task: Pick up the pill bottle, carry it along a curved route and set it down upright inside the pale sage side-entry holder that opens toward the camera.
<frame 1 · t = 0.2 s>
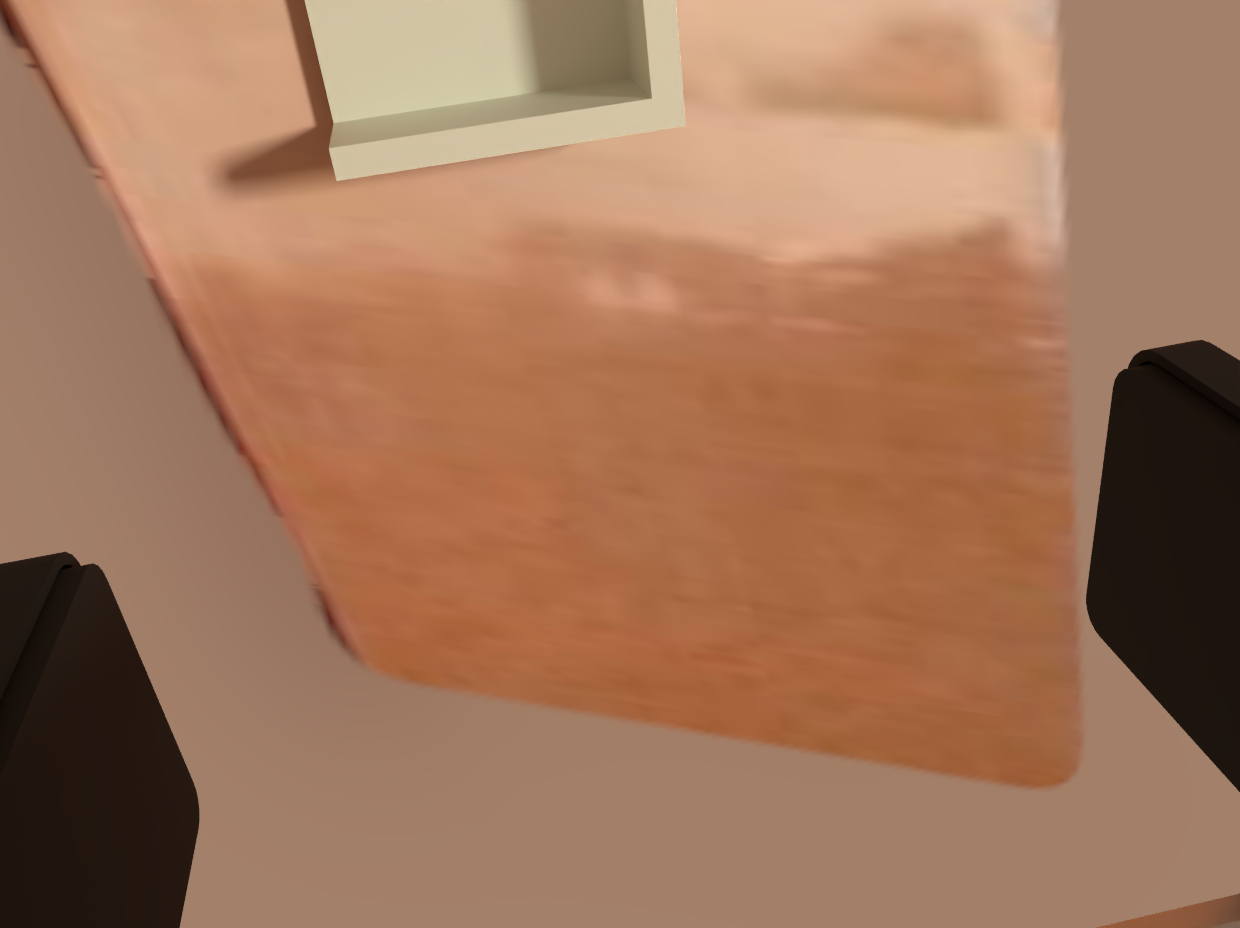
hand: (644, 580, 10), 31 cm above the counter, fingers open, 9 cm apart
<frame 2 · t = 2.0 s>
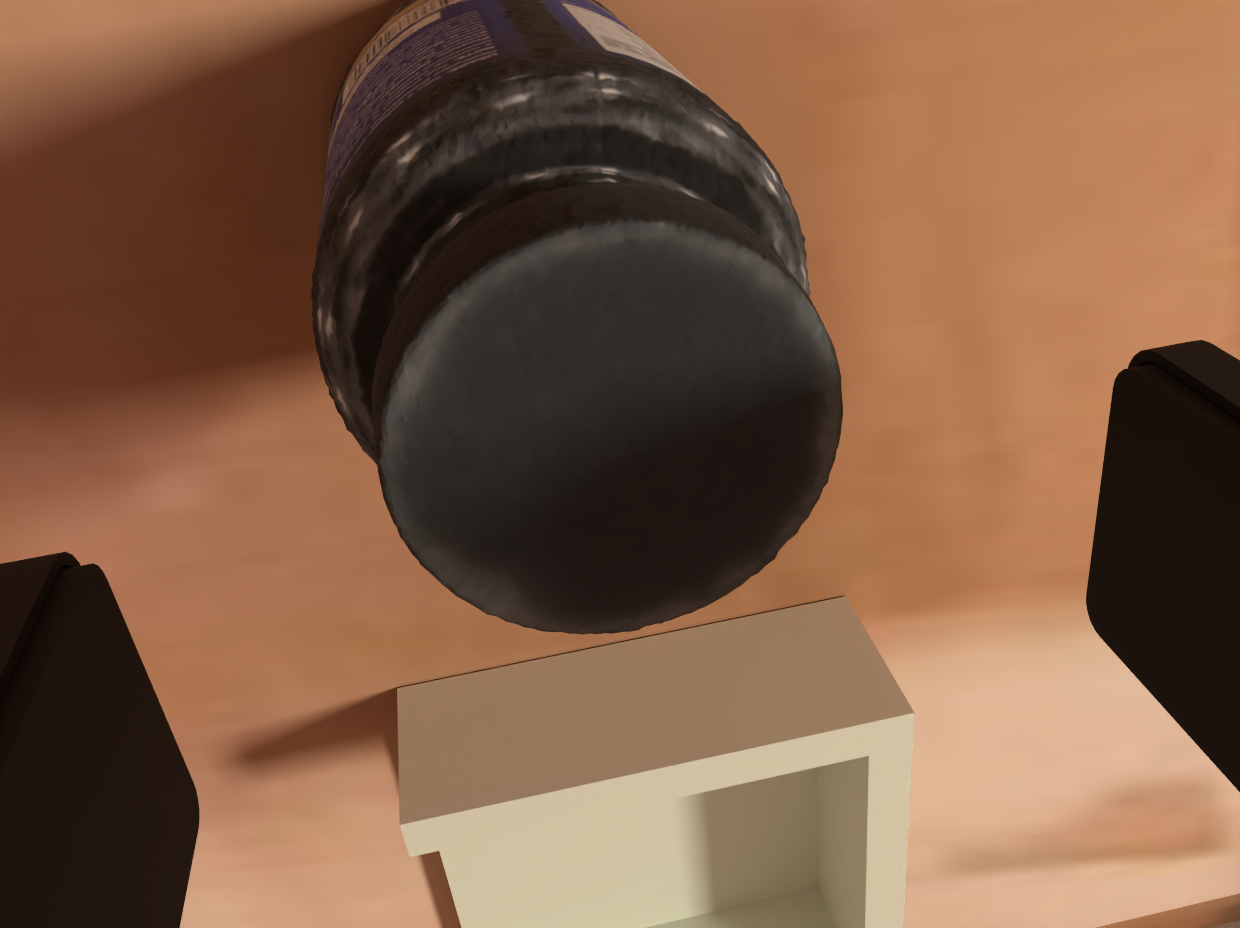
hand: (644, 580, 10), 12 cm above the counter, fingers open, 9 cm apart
holder: (647, 798, 29), on the counter
pill bottle: (504, 147, 20), on the counter
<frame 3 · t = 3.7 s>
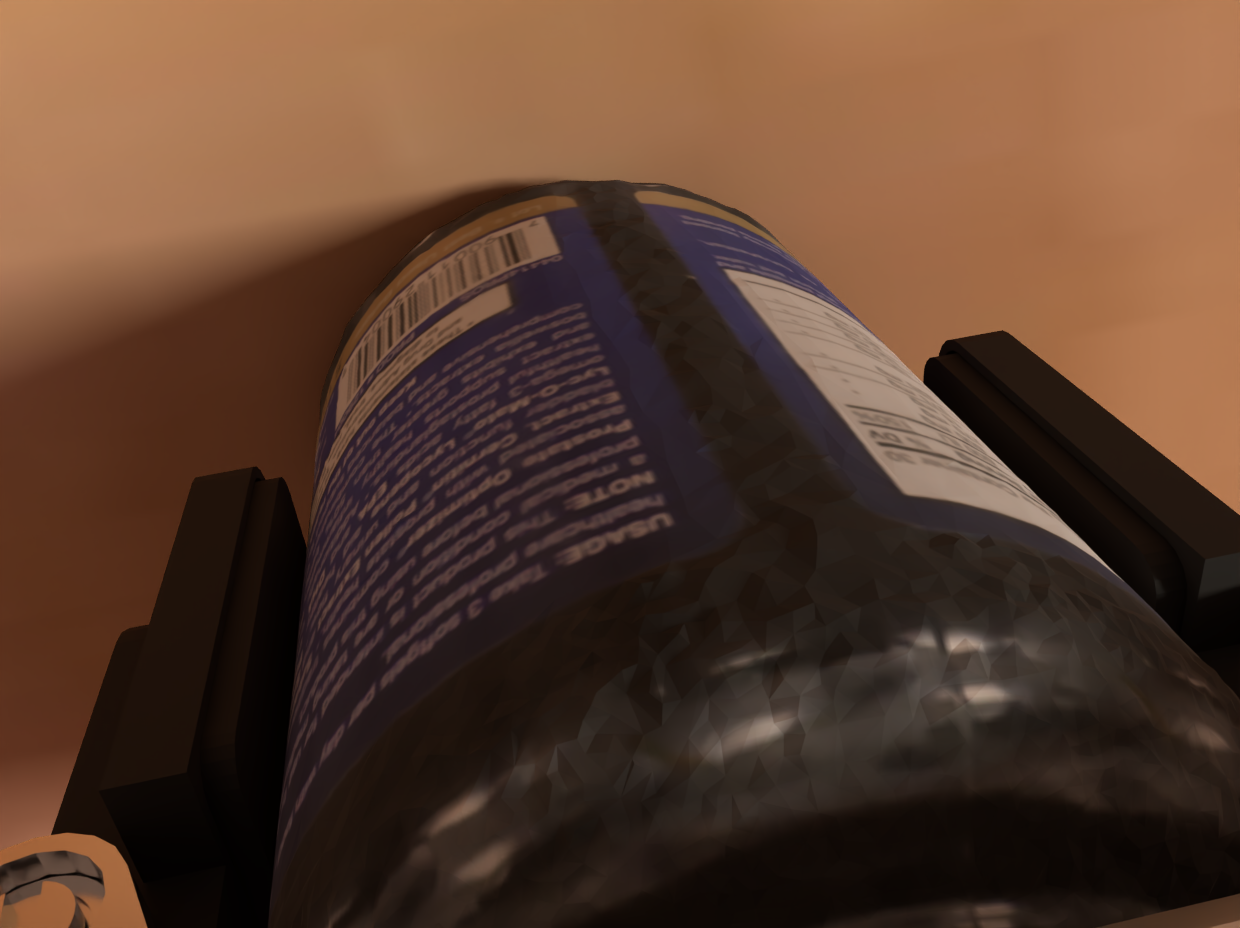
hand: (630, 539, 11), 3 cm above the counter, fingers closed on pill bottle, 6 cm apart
pill bottle: (587, 412, 13), on the counter, touching gripper
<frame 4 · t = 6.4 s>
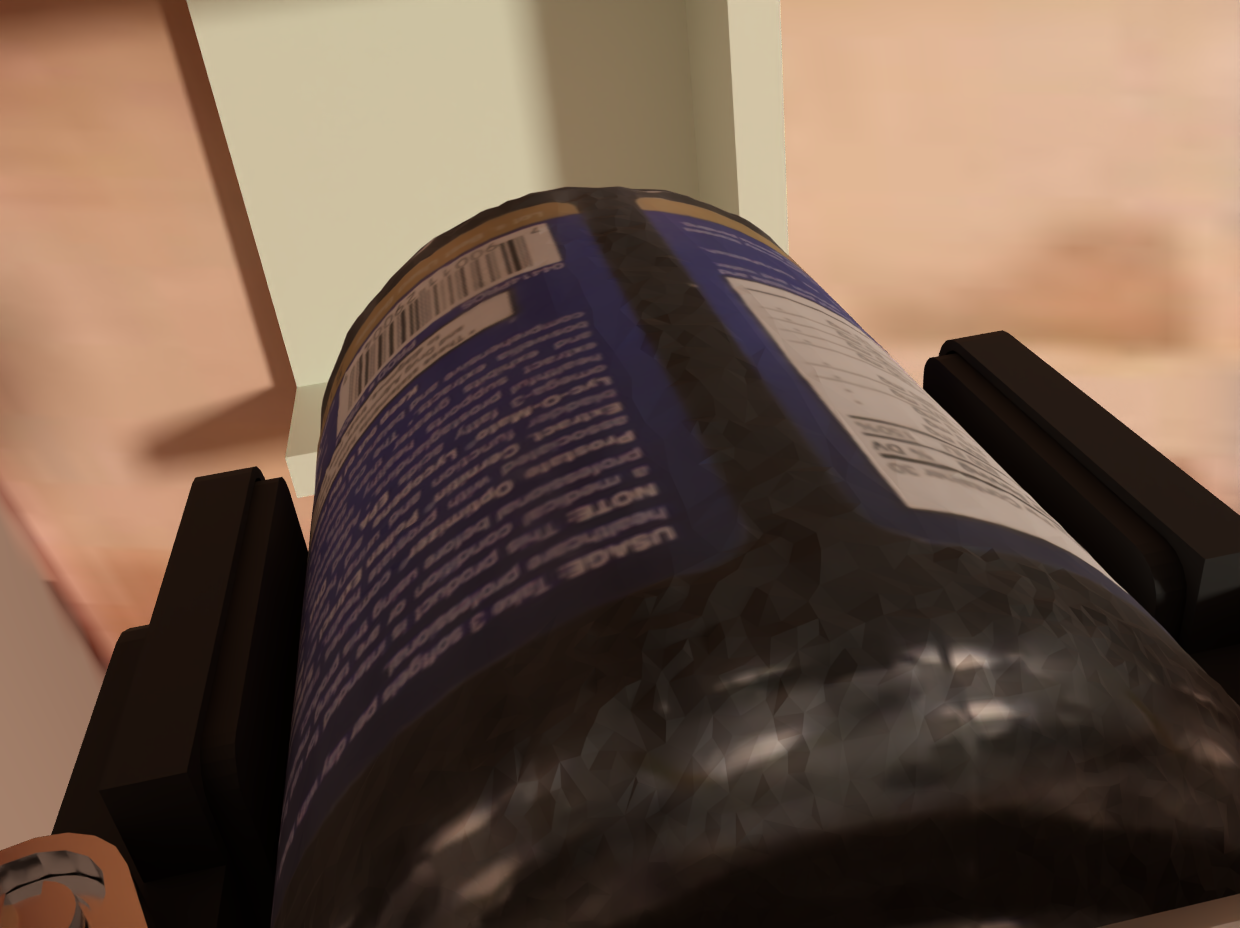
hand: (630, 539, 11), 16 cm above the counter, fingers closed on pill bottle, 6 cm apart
holder: (494, 154, 25), on the counter
pill bottle: (588, 417, 13), point 14 cm above the counter, touching gripper
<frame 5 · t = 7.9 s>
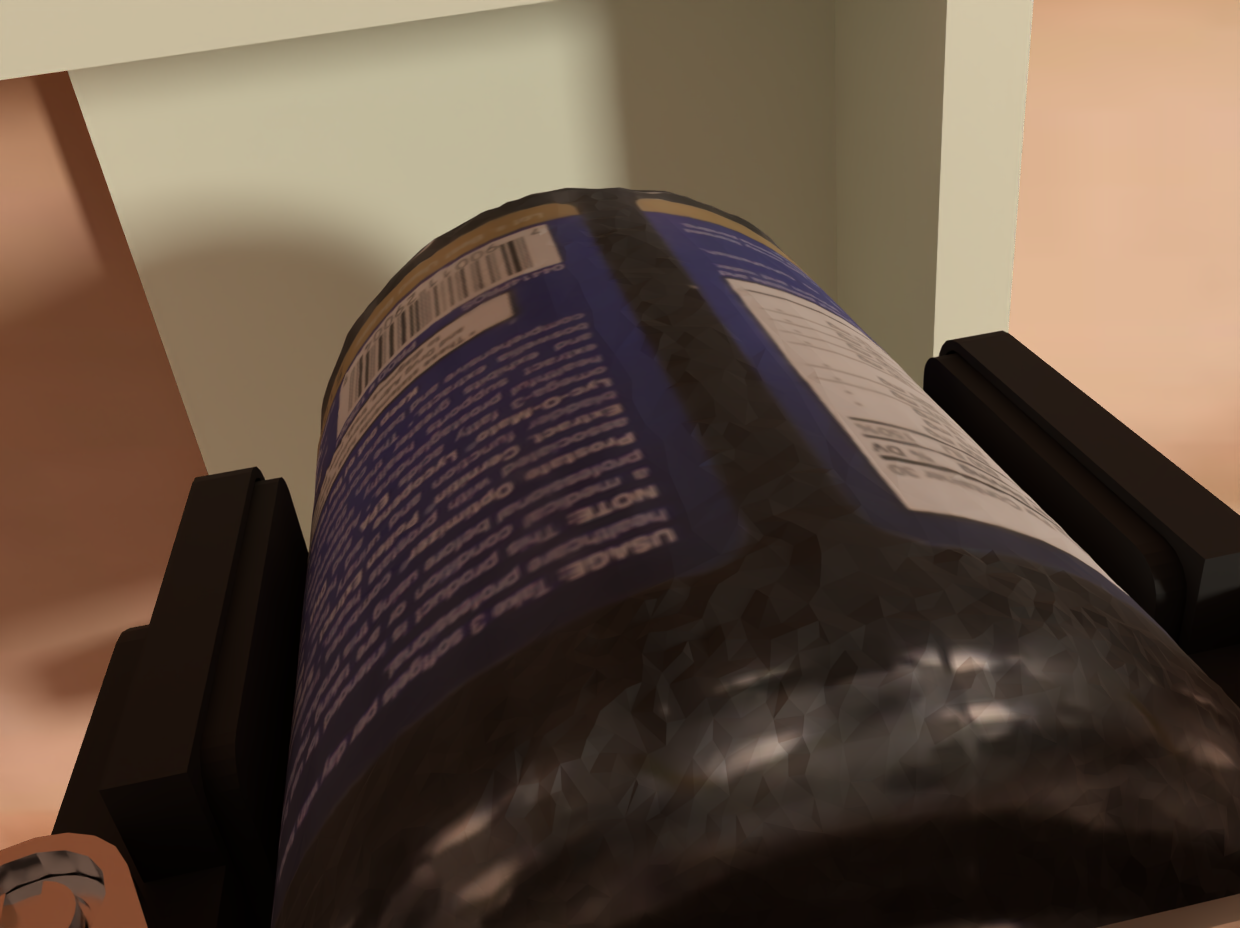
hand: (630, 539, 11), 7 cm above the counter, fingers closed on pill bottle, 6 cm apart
holder: (541, 283, 17), on the counter
pill bottle: (588, 418, 13), point 4 cm above the counter, touching gripper
when the fingers open (5 cm above the counter, at t = 9.3 s): pill bottle drops 2 cm, resting on holder.
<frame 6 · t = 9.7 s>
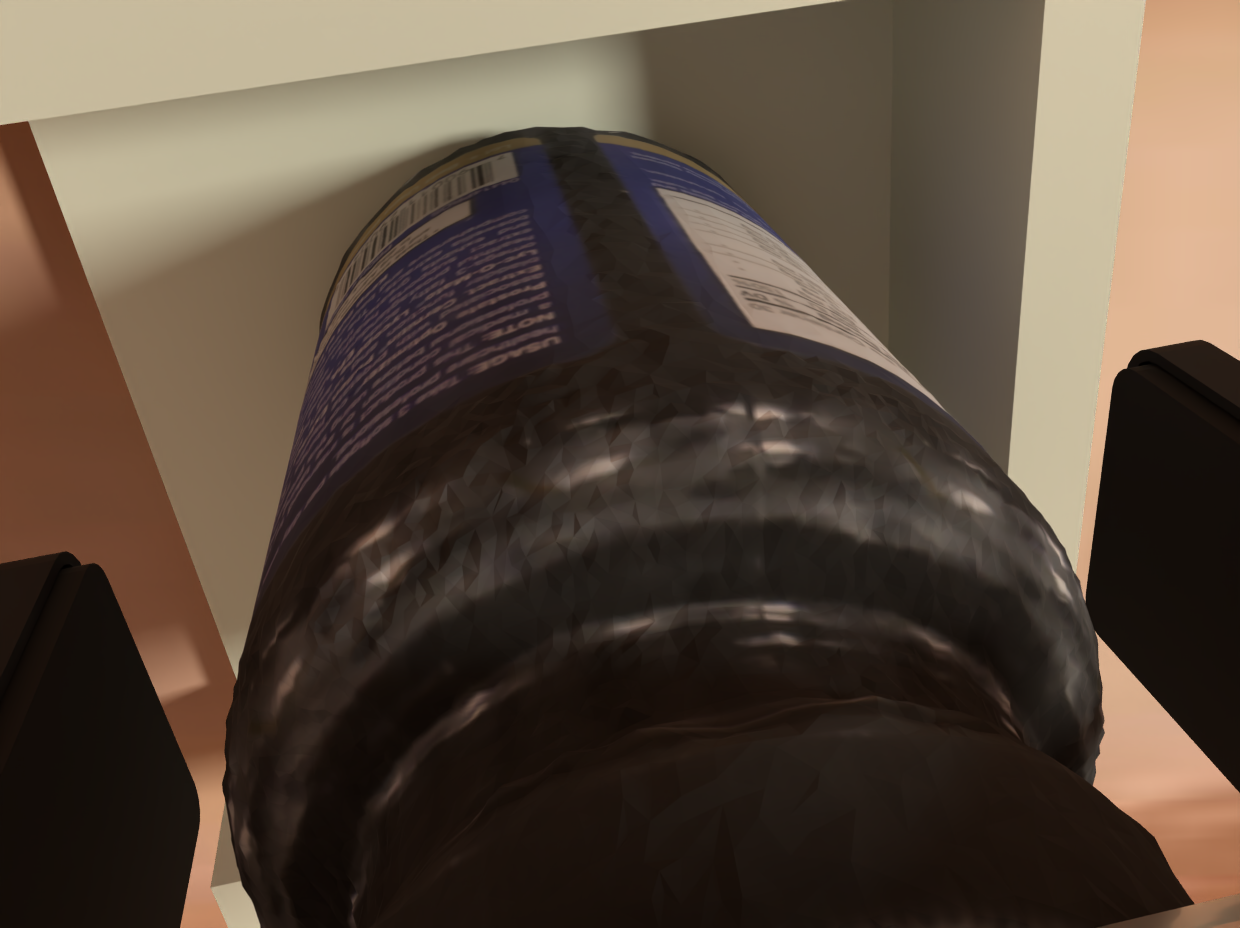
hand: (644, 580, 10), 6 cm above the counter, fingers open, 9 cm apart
holder: (560, 340, 15), on the counter
pill bottle: (562, 345, 15), point 1 cm above the counter, touching holder
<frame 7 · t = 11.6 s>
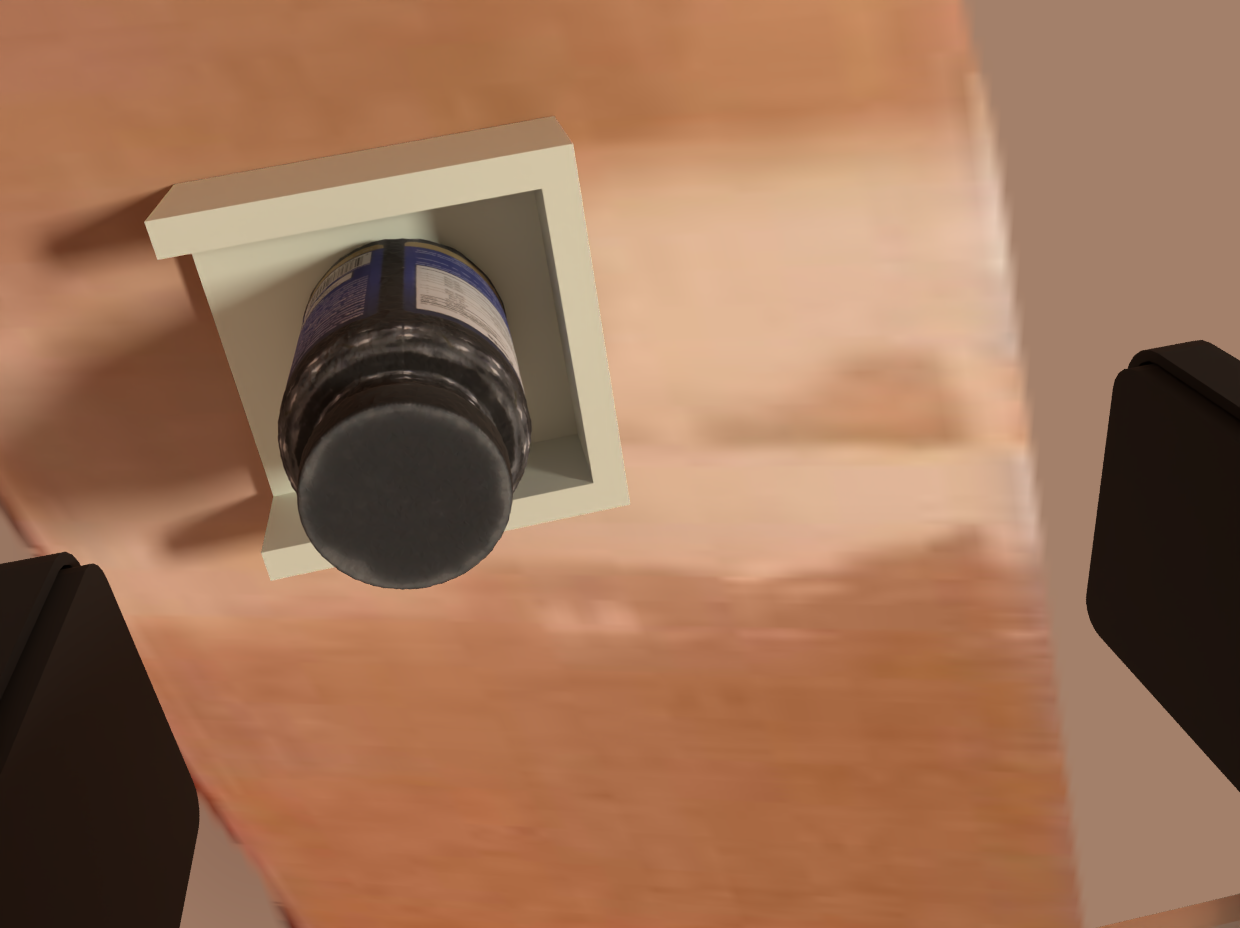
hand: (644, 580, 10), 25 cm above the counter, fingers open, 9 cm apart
holder: (410, 327, 34), on the counter
pill bottle: (408, 327, 34), resting on holder
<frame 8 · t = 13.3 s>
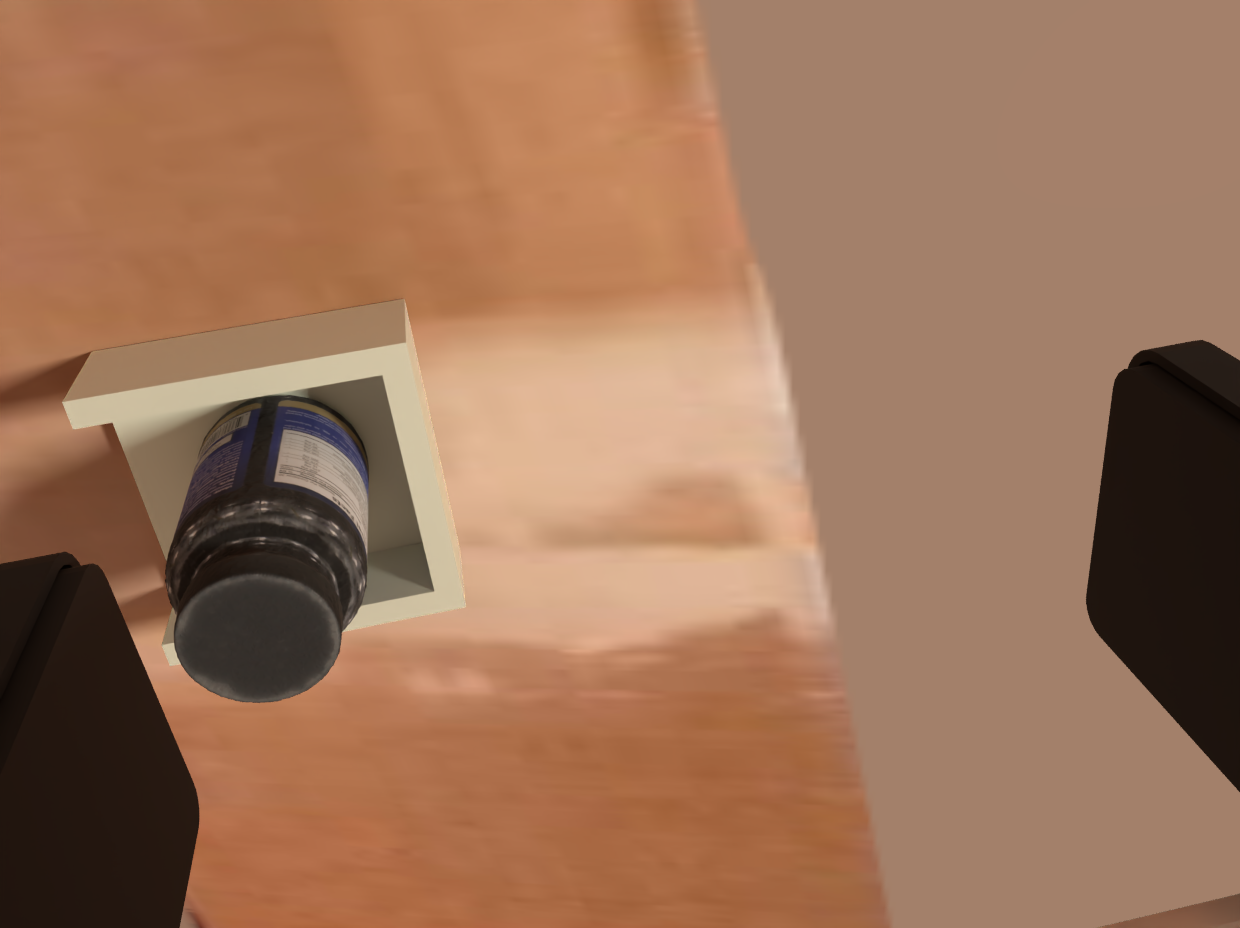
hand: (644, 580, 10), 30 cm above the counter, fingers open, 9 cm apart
holder: (290, 457, 42), on the counter
pill bottle: (287, 459, 42), resting on holder
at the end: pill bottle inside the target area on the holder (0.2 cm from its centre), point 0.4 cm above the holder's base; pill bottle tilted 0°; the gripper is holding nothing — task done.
